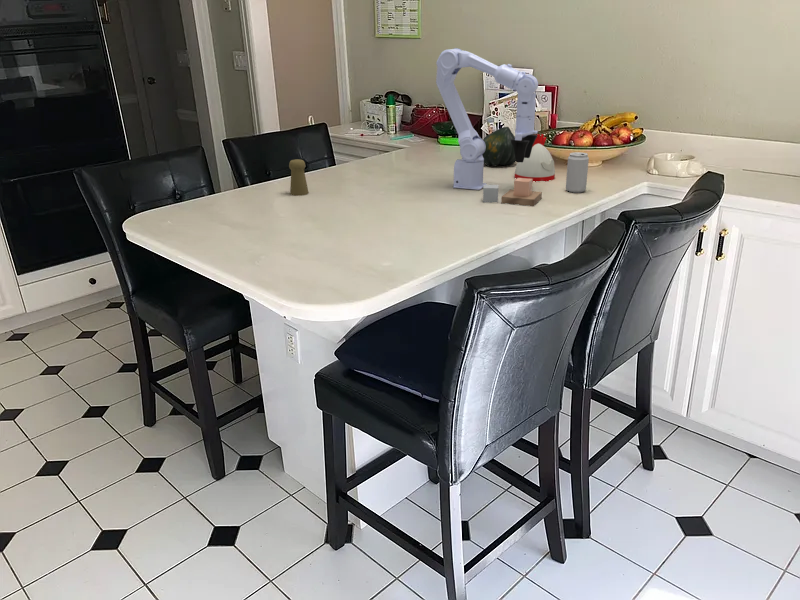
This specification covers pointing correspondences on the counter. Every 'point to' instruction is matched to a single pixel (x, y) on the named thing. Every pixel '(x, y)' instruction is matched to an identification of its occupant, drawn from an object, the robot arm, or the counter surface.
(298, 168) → the cork
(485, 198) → the grey cube
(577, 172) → the beverage can
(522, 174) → the kitchen timer
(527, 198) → the walnut plinth
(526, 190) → the terracotta cube
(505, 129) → the squash
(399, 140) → the counter surface
